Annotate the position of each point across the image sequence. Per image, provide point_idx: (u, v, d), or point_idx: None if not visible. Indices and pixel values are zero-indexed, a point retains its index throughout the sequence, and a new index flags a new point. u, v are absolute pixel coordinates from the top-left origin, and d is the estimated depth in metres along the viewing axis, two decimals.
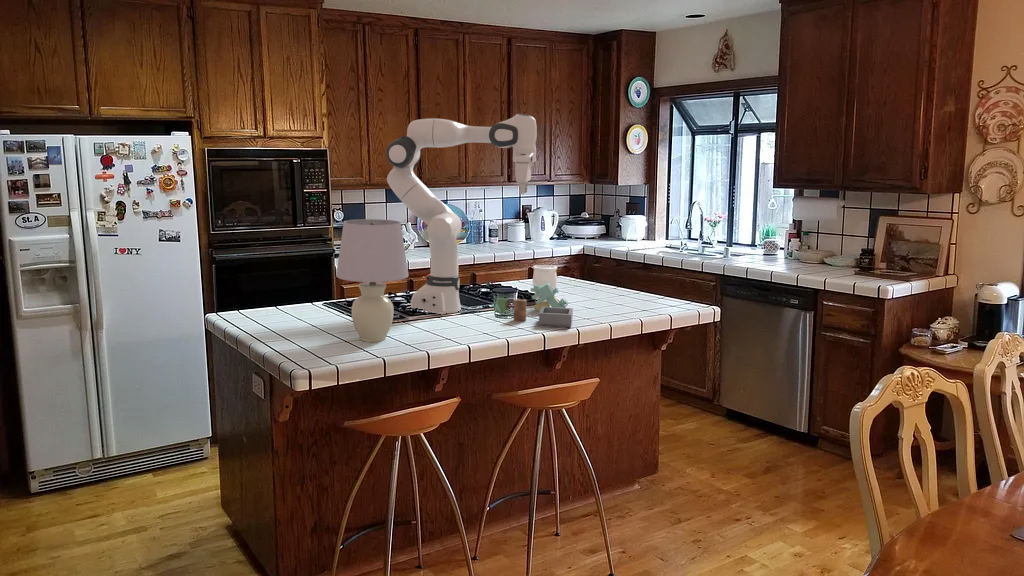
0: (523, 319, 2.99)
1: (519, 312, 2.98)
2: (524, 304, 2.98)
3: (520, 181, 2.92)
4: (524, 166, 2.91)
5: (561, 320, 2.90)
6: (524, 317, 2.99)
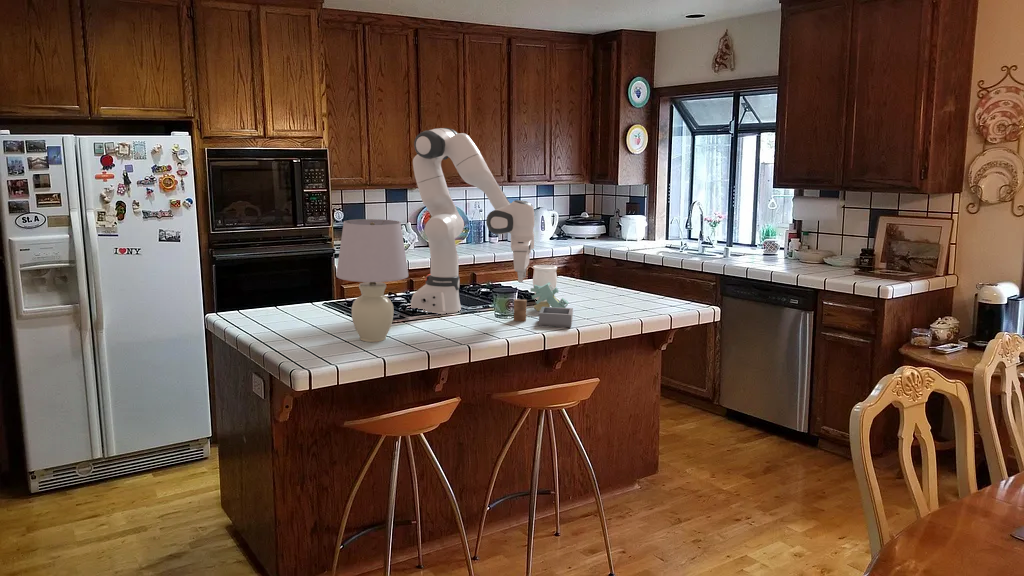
0: (523, 319, 2.99)
1: (519, 312, 2.98)
2: (524, 304, 2.98)
3: (518, 270, 2.87)
4: (522, 255, 2.86)
5: (561, 320, 2.90)
6: (524, 317, 2.99)
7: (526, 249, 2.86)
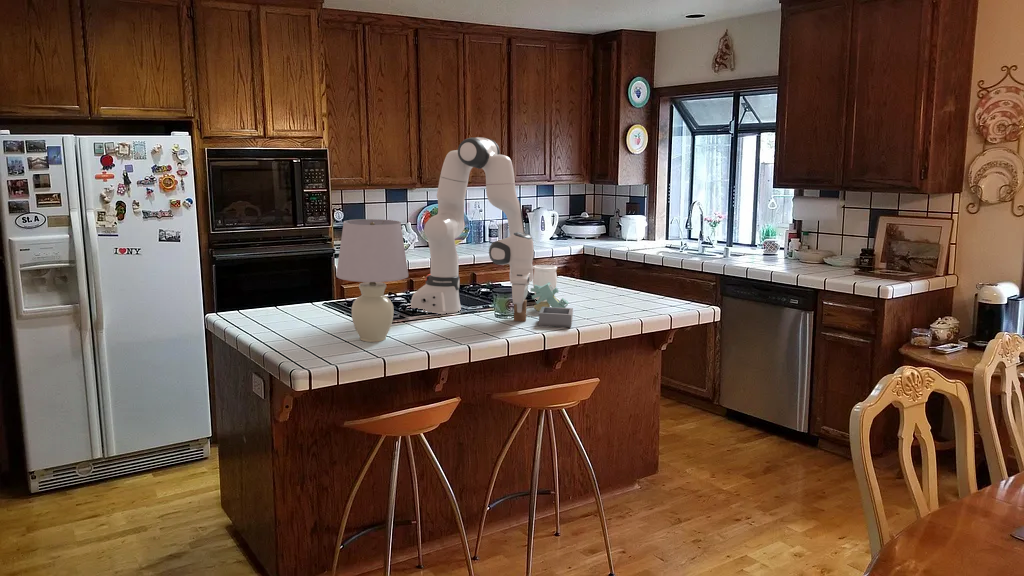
0: (523, 319, 2.99)
1: None
2: (524, 304, 2.98)
3: (517, 303, 2.89)
4: (521, 288, 2.88)
5: (561, 320, 2.90)
6: (524, 317, 2.99)
7: (525, 282, 2.89)
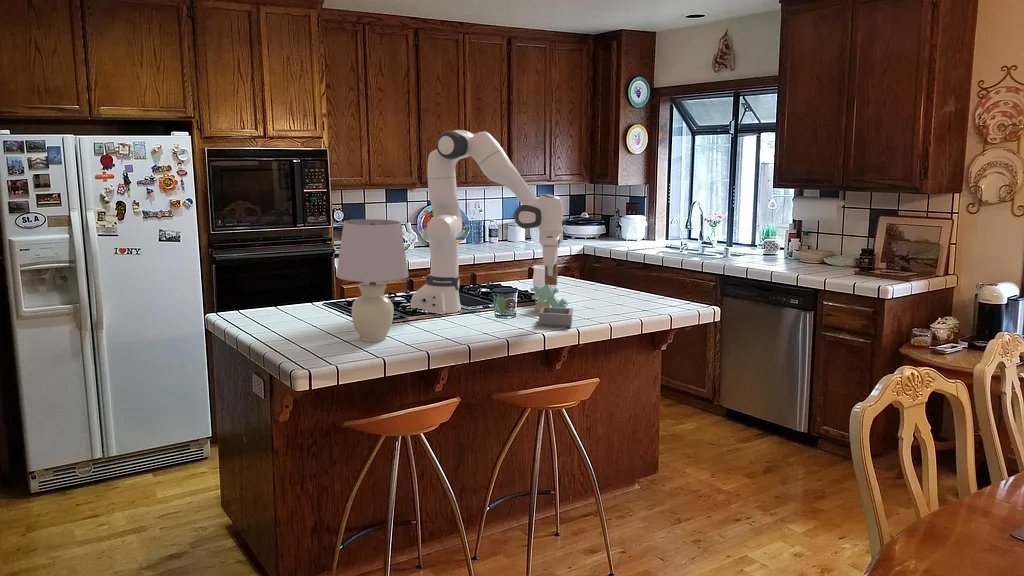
0: (554, 282, 2.93)
1: None
2: (555, 267, 2.92)
3: (548, 265, 2.83)
4: (552, 250, 2.82)
5: (561, 320, 2.90)
6: (555, 280, 2.93)
7: (555, 243, 2.83)
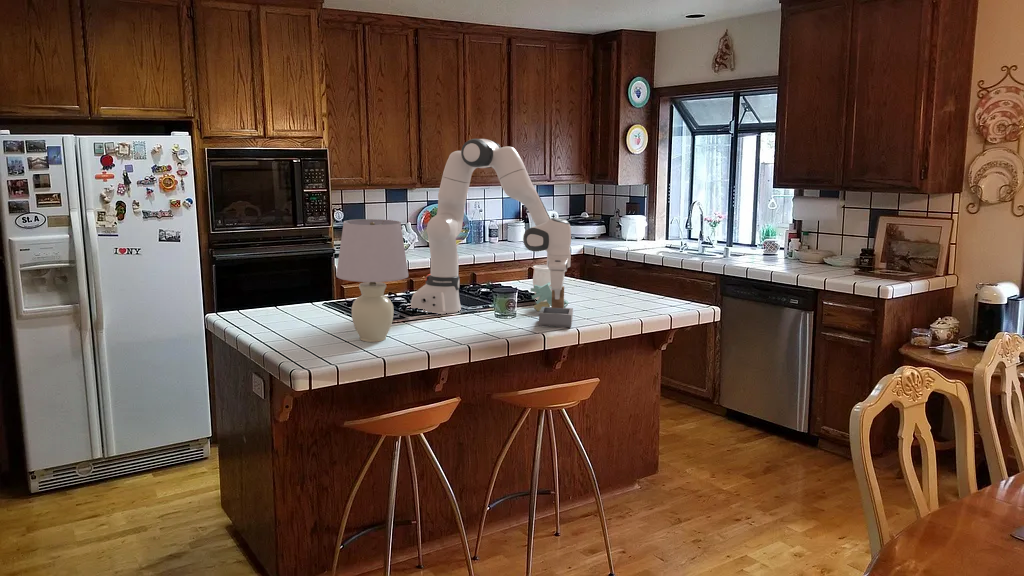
0: (561, 306, 2.94)
1: None
2: (562, 290, 2.93)
3: (555, 289, 2.85)
4: (560, 274, 2.84)
5: (561, 320, 2.90)
6: (562, 304, 2.94)
7: (563, 268, 2.84)
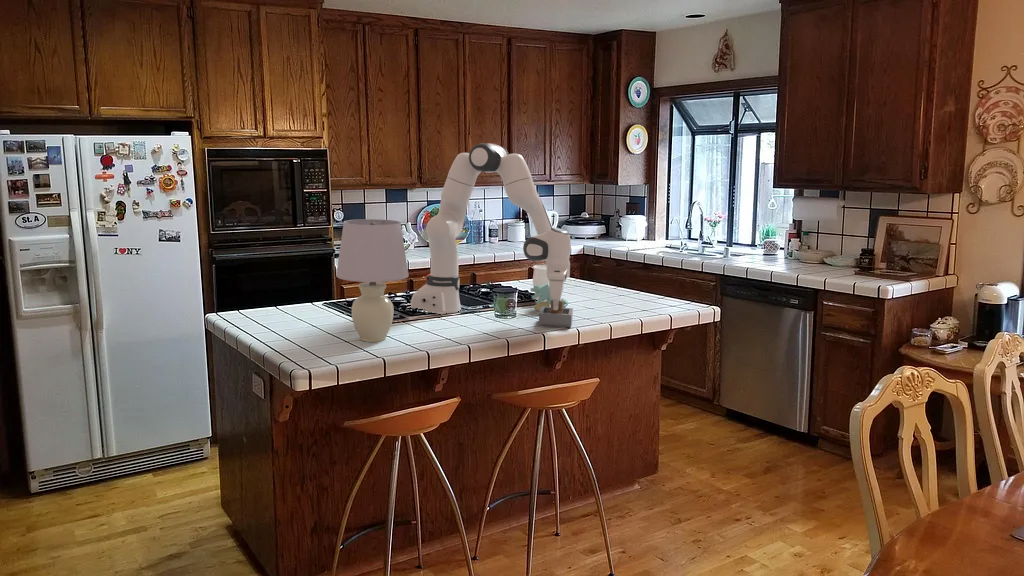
0: None
1: (555, 312, 2.95)
2: (561, 304, 2.94)
3: (554, 299, 2.85)
4: (559, 285, 2.84)
5: (561, 320, 2.90)
6: None
7: (562, 278, 2.85)
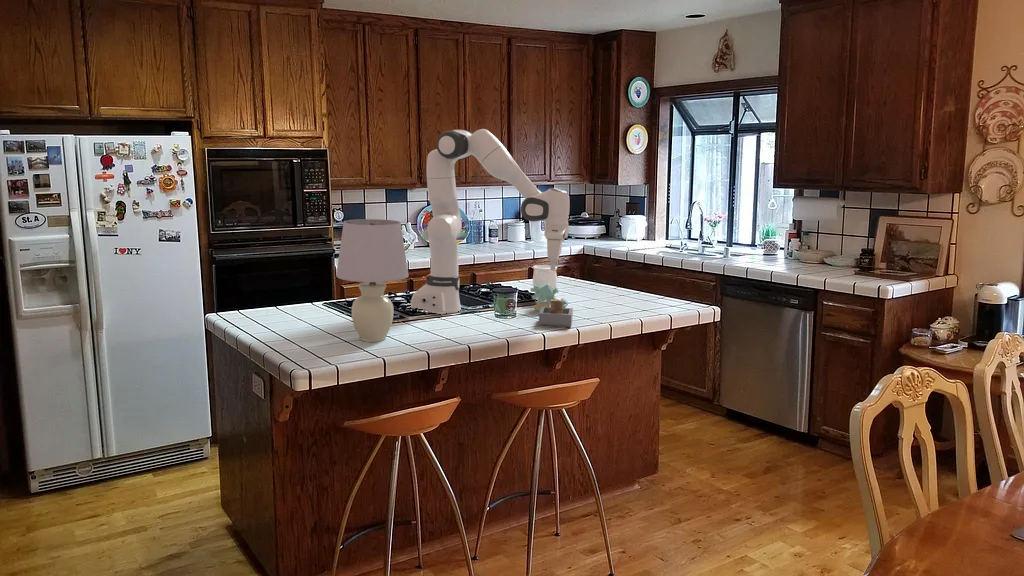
0: None
1: (555, 312, 2.95)
2: (561, 304, 2.94)
3: (552, 258, 2.85)
4: (557, 244, 2.84)
5: (561, 320, 2.90)
6: None
7: (560, 237, 2.85)
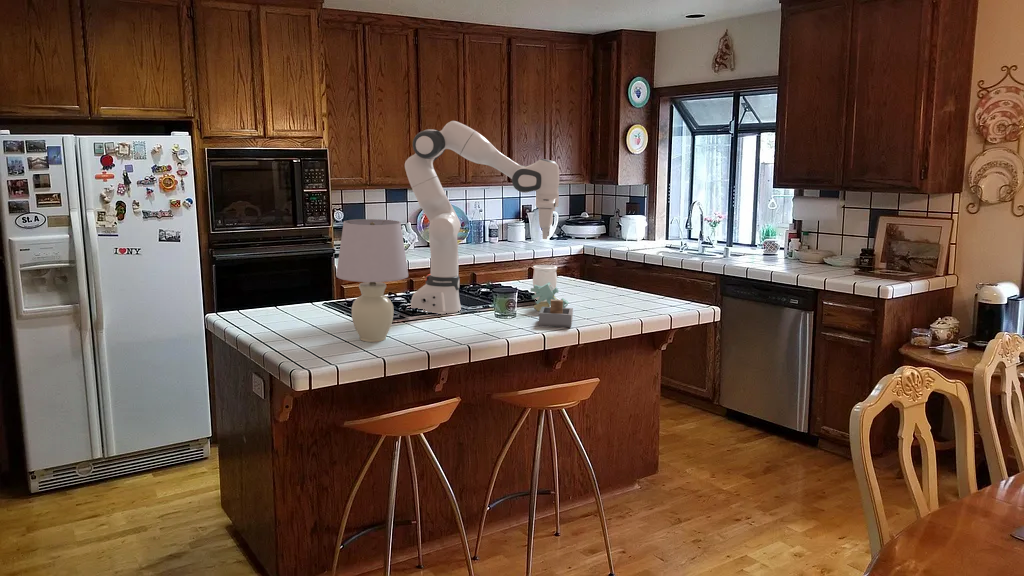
0: None
1: (555, 312, 2.95)
2: (561, 304, 2.94)
3: (543, 227, 2.94)
4: (548, 212, 2.93)
5: (561, 320, 2.90)
6: None
7: (551, 206, 2.93)
